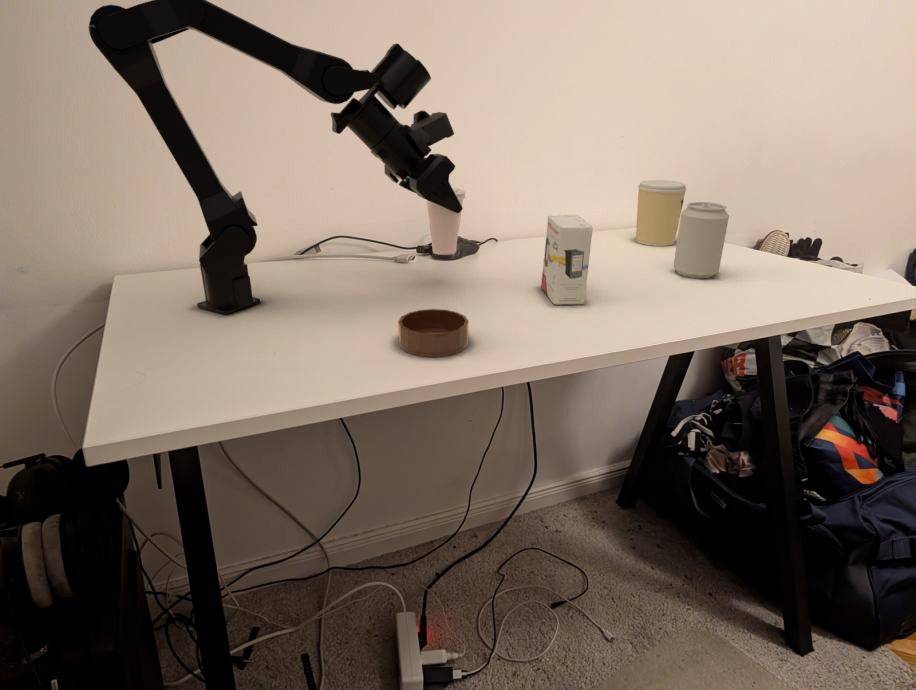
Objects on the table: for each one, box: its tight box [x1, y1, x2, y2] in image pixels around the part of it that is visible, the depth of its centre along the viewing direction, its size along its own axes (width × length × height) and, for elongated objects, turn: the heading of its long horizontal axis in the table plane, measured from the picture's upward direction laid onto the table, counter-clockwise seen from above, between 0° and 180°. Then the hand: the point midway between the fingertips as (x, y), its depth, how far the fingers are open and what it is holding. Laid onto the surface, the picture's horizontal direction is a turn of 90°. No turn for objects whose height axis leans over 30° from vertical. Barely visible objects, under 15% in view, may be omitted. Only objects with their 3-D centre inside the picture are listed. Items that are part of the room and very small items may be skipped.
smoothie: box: [426, 187, 466, 256], centre depth 95 cm, size 6×6×14 cm
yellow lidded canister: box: [635, 179, 688, 247], centre depth 125 cm, size 9×9×12 cm
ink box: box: [540, 214, 593, 305], centre depth 91 cm, size 9×5×12 cm, turn 6°
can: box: [672, 201, 730, 279], centre depth 103 cm, size 8×8×12 cm
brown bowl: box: [397, 308, 470, 358], centre depth 76 cm, size 9×9×3 cm
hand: (453, 207), depth 95 cm, fingers closed on smoothie, 6 cm apart
